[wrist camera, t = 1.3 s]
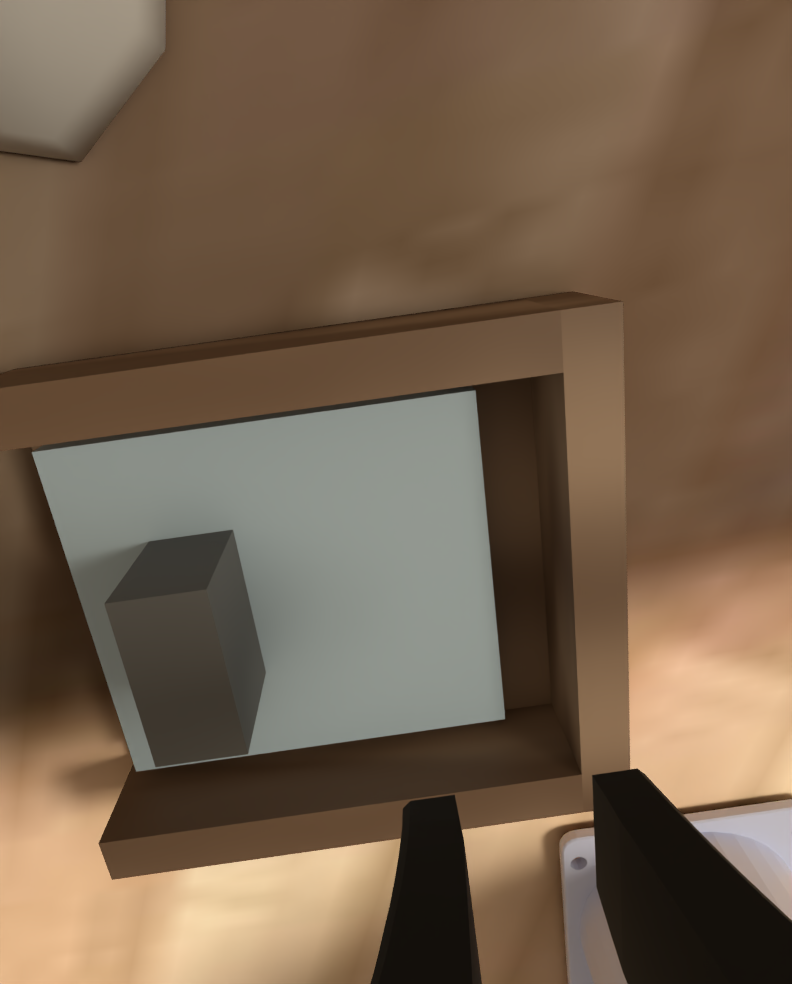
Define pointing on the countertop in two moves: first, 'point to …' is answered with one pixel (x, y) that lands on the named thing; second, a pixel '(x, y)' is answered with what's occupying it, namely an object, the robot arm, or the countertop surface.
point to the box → (513, 549)
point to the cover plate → (285, 575)
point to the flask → (71, 69)
